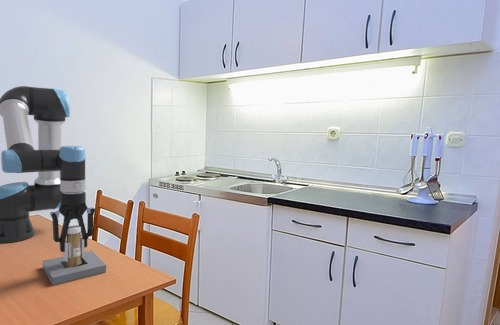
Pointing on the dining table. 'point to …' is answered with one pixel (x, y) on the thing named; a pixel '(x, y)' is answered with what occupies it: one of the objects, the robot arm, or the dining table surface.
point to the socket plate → (73, 268)
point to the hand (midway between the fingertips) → (74, 258)
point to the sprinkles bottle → (74, 245)
